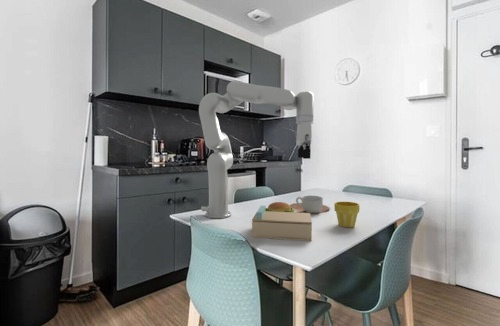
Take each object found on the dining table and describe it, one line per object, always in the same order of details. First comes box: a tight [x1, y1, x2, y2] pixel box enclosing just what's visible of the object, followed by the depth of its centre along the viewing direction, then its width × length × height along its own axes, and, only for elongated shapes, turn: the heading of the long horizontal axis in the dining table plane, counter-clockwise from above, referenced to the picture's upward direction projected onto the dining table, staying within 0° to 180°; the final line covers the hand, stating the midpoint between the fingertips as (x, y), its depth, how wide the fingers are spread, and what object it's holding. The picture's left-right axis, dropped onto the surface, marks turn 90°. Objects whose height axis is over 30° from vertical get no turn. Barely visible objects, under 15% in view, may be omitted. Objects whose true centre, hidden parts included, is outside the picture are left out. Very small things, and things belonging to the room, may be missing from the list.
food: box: [266, 201, 295, 212], centre depth 129 cm, size 14×14×8 cm
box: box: [251, 220, 313, 242], centre depth 107 cm, size 22×14×6 cm, turn 80°
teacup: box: [295, 195, 324, 214], centre depth 144 cm, size 14×11×8 cm
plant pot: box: [333, 201, 360, 229], centre depth 118 cm, size 10×10×10 cm
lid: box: [251, 205, 313, 224], centre depth 107 cm, size 22×14×3 cm, turn 80°
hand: (303, 158), depth 123 cm, fingers open, 9 cm apart
